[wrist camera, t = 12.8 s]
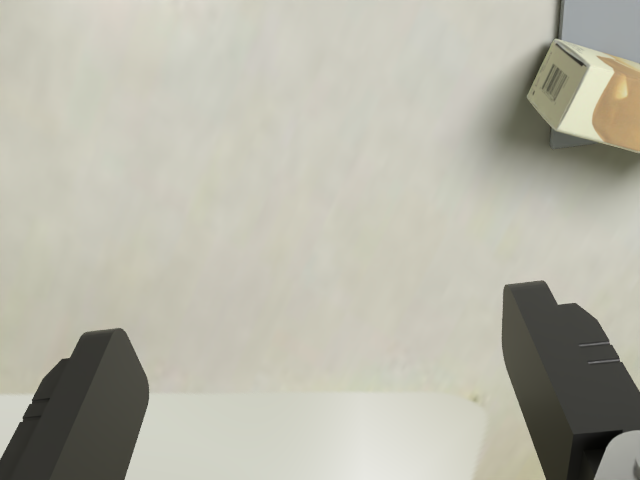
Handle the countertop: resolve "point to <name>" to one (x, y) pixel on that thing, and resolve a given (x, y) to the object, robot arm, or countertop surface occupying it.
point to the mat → (599, 38)
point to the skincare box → (589, 95)
